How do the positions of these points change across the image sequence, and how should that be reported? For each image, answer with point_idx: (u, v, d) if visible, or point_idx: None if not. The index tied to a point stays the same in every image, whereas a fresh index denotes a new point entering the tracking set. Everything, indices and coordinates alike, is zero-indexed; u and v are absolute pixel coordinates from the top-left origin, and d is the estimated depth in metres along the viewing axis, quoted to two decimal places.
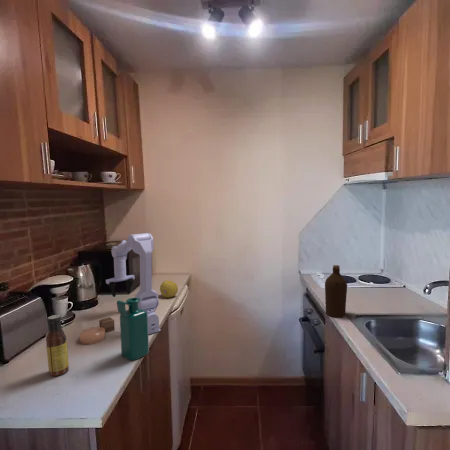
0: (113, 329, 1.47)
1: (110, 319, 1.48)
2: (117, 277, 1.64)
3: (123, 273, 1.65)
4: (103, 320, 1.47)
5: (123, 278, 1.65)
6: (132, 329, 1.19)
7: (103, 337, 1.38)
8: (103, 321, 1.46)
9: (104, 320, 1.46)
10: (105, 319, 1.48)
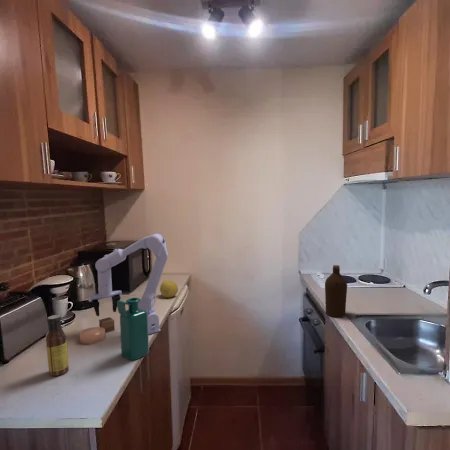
0: (113, 329, 1.47)
1: (110, 319, 1.48)
2: (101, 294, 1.43)
3: (108, 289, 1.44)
4: (103, 320, 1.47)
5: (108, 295, 1.44)
6: (132, 329, 1.19)
7: (103, 337, 1.38)
8: (103, 321, 1.46)
9: (104, 320, 1.46)
10: (105, 319, 1.48)
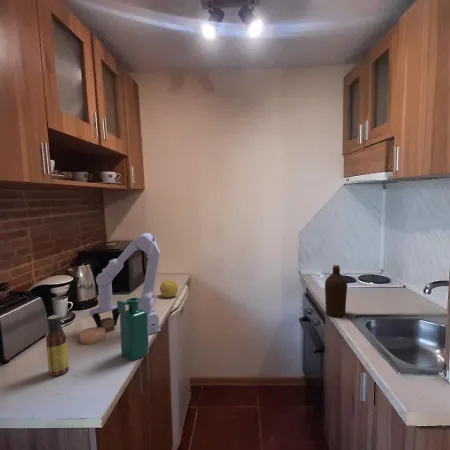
0: (113, 329, 1.47)
1: (110, 319, 1.48)
2: (102, 308, 1.44)
3: (109, 303, 1.45)
4: (103, 320, 1.47)
5: (109, 309, 1.45)
6: (132, 329, 1.19)
7: (103, 337, 1.38)
8: (103, 321, 1.45)
9: (104, 320, 1.46)
10: (105, 319, 1.48)
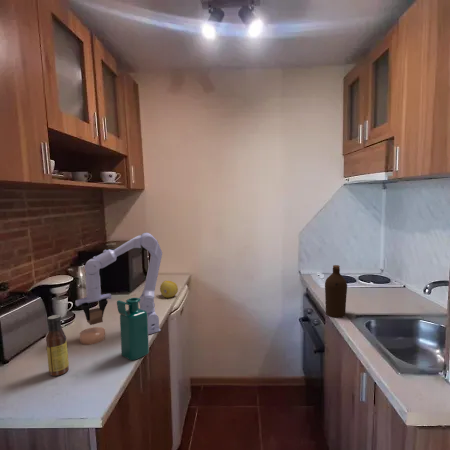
0: (101, 320, 1.39)
1: (98, 310, 1.40)
2: (89, 297, 1.36)
3: (97, 292, 1.37)
4: (91, 310, 1.39)
5: (96, 298, 1.37)
6: (132, 329, 1.19)
7: (103, 337, 1.38)
8: (90, 312, 1.38)
9: (91, 311, 1.39)
10: (93, 310, 1.40)
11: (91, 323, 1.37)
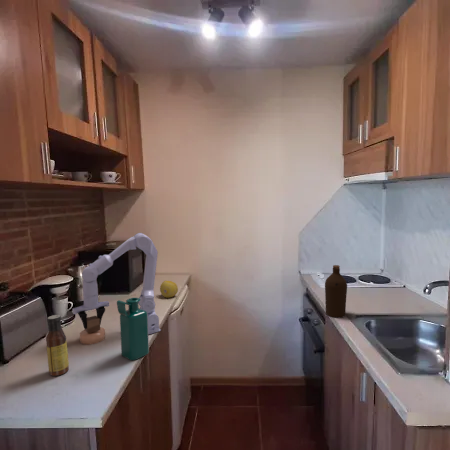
0: (99, 328, 1.38)
1: (95, 318, 1.39)
2: (86, 305, 1.35)
3: (94, 300, 1.35)
4: (88, 318, 1.38)
5: (94, 306, 1.35)
6: (132, 329, 1.19)
7: (103, 337, 1.38)
8: (88, 320, 1.36)
9: (89, 319, 1.37)
10: (90, 318, 1.39)
11: (88, 331, 1.35)
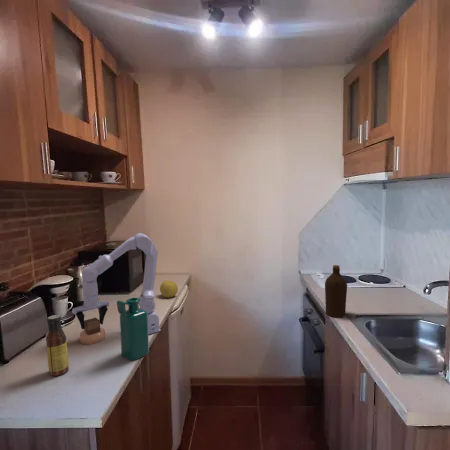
0: (99, 330, 1.38)
1: (96, 320, 1.39)
2: (86, 305, 1.35)
3: (94, 300, 1.35)
4: (88, 320, 1.38)
5: (94, 306, 1.35)
6: (132, 329, 1.19)
7: (103, 337, 1.38)
8: (88, 322, 1.36)
9: (89, 321, 1.37)
10: (90, 320, 1.39)
11: (89, 333, 1.35)
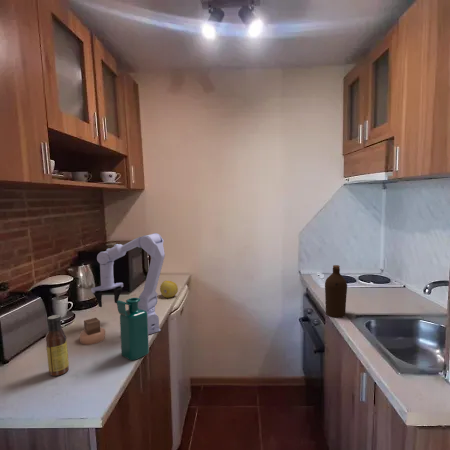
0: (99, 330, 1.38)
1: (96, 320, 1.39)
2: (104, 285, 1.49)
3: (110, 281, 1.50)
4: (88, 320, 1.38)
5: (110, 286, 1.50)
6: (132, 329, 1.19)
7: (103, 337, 1.38)
8: (88, 322, 1.36)
9: (89, 321, 1.37)
10: (90, 320, 1.39)
11: (89, 333, 1.35)
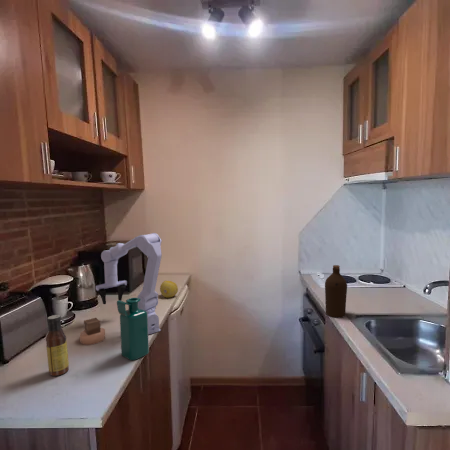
0: (99, 330, 1.38)
1: (96, 320, 1.39)
2: (108, 283, 1.53)
3: (114, 279, 1.54)
4: (88, 321, 1.38)
5: (114, 284, 1.54)
6: (132, 329, 1.19)
7: (103, 337, 1.38)
8: (88, 322, 1.36)
9: (89, 321, 1.37)
10: (90, 320, 1.39)
11: (89, 333, 1.35)
